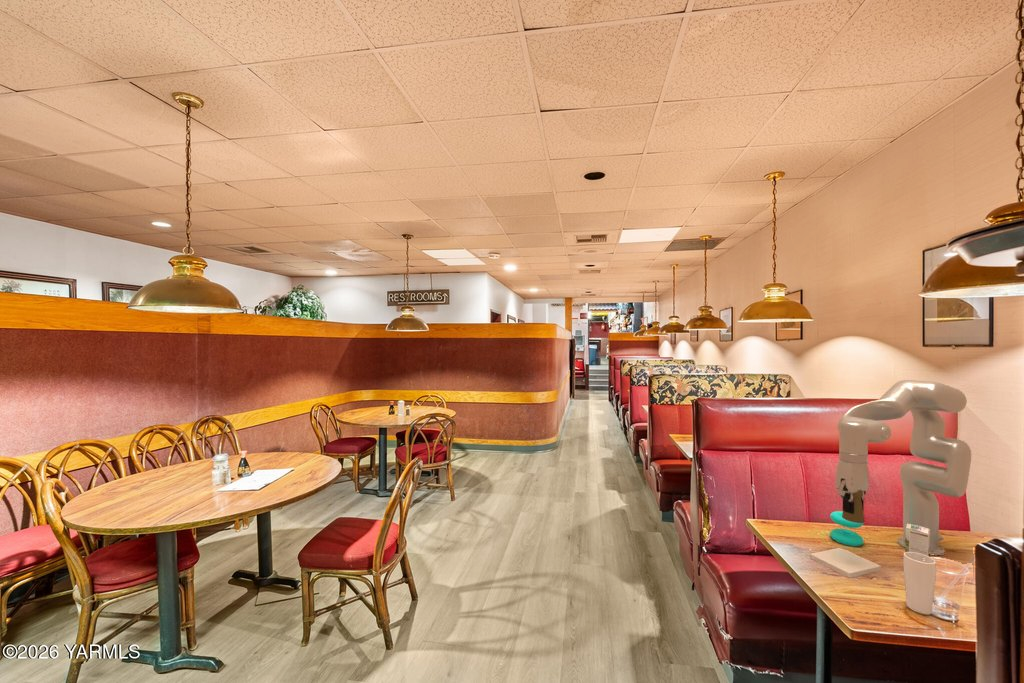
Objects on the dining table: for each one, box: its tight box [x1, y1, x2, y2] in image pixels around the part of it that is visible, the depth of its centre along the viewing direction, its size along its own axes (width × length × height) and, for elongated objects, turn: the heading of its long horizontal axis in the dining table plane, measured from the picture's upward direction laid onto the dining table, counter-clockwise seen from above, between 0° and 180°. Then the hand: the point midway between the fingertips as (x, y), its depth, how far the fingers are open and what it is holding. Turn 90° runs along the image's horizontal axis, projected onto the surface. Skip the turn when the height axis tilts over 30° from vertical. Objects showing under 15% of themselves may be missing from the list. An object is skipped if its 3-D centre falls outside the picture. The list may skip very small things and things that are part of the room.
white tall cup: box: [902, 551, 937, 616], centre depth 120 cm, size 7×7×15 cm
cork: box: [842, 489, 866, 524], centre depth 142 cm, size 6×6×11 cm
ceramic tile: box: [809, 547, 882, 579], centre depth 144 cm, size 15×13×2 cm
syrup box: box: [904, 524, 930, 557], centre depth 140 cm, size 6×6×14 cm
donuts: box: [829, 510, 865, 547], centre depth 161 cm, size 10×10×10 cm
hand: (853, 510), depth 142 cm, fingers closed on cork, 4 cm apart
